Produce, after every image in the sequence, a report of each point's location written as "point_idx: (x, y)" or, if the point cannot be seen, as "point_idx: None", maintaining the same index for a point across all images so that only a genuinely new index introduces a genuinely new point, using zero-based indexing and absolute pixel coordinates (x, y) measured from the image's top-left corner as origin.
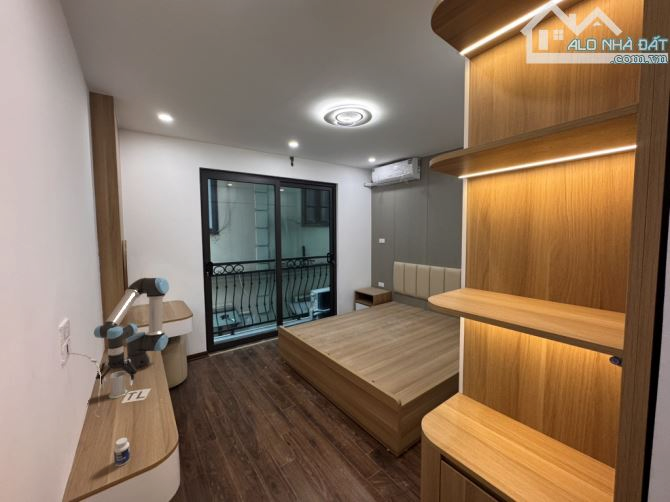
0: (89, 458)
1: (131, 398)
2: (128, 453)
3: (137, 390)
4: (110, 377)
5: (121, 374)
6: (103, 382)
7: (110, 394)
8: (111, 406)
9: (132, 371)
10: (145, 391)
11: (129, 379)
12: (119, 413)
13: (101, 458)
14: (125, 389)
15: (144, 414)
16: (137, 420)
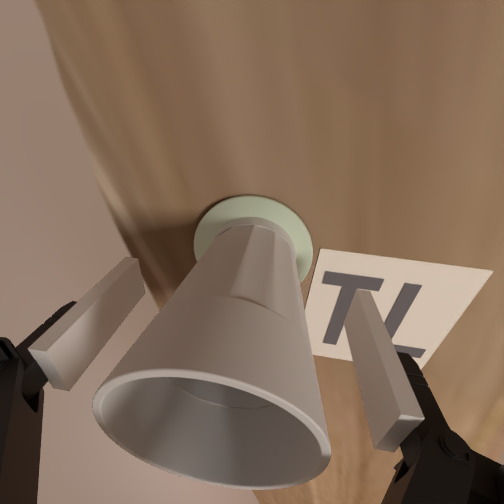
0: (271, 492)
1: (346, 335)
2: None
3: (385, 259)
4: (148, 462)
5: (243, 329)
6: (96, 354)
7: (200, 249)
8: None
9: (456, 492)
10: (440, 297)
11: (362, 391)
12: None
13: (296, 500)
14: (292, 219)
15: (400, 447)
16: (373, 457)
